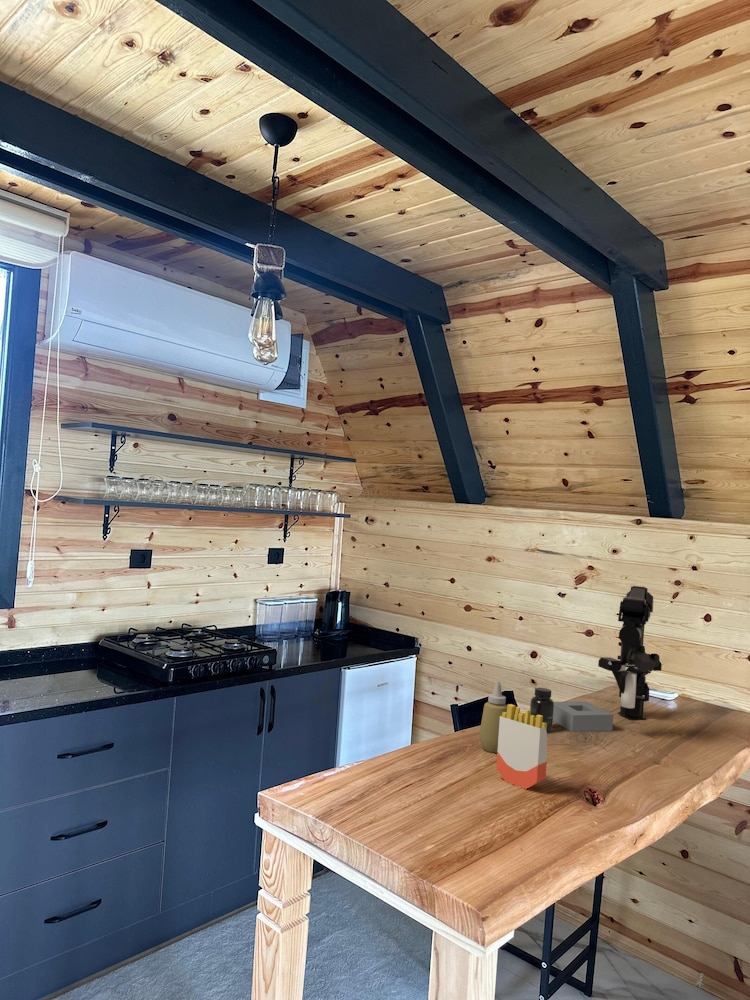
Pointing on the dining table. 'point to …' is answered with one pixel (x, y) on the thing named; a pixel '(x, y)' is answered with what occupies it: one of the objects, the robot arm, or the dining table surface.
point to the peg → (629, 691)
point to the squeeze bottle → (492, 719)
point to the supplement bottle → (543, 706)
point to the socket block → (582, 717)
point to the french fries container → (522, 747)
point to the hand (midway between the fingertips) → (628, 692)
